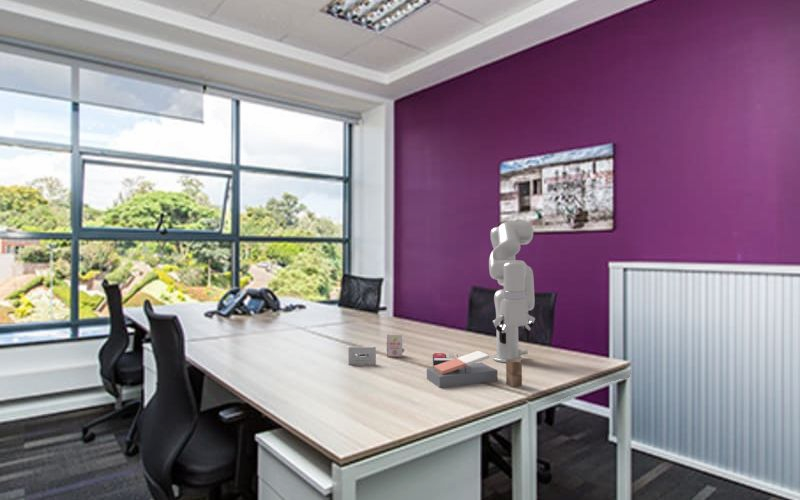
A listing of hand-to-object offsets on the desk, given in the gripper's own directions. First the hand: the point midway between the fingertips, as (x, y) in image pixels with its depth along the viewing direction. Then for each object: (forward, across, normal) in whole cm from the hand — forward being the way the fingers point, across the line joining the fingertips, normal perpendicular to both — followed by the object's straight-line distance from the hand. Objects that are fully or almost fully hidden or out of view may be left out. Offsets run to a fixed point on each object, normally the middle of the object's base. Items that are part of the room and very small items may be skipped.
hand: (514, 341), depth 166 cm
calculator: (+17, +12, -35) cm, 41 cm away
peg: (+16, +1, +1) cm, 16 cm away
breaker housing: (+16, +16, -12) cm, 25 cm away
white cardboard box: (+17, +28, -57) cm, 66 cm away
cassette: (+17, +46, -48) cm, 68 cm away
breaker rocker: (+10, +15, -12) cm, 22 cm away
